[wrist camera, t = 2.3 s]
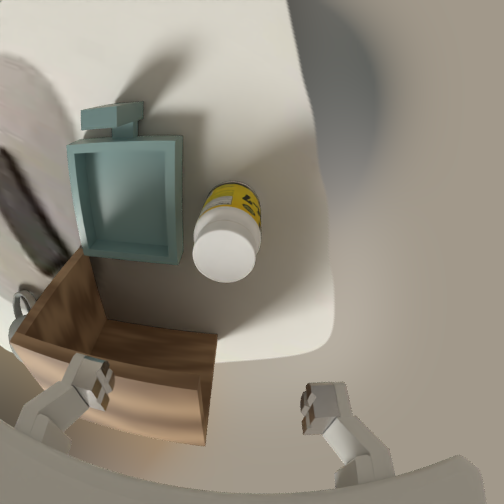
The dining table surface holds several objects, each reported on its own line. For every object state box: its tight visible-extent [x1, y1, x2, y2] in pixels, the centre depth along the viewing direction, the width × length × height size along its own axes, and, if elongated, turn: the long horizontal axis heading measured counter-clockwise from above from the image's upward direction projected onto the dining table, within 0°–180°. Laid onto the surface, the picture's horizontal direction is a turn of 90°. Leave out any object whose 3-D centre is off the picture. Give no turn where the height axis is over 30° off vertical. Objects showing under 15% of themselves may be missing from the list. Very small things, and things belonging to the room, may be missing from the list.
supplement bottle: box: [193, 181, 261, 283], centre depth 21 cm, size 5×5×8 cm
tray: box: [66, 101, 183, 265], centre depth 21 cm, size 14×10×5 cm
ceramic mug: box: [8, 290, 36, 362], centre depth 30 cm, size 11×8×8 cm
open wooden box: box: [10, 248, 217, 446], centre depth 25 cm, size 12×16×14 cm
